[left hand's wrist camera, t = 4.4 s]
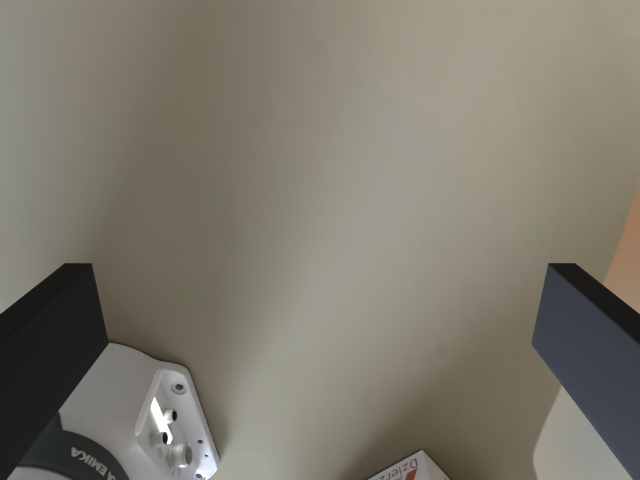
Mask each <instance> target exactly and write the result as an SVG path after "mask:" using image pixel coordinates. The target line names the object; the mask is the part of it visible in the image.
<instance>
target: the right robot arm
mask: <svg viewBox="0 0 640 480" xmlns="http://www.w3.org/2000/svg"><path fill="white" fill-rule="evenodd" d="M178 384H181V385H183V386H180V385H178ZM219 464H220V460H219V457H218V454H217V451H216V448H215V445H214V442H213V439H212V436H211V433H210V430H209V427H208V425H207V422H206V419H205V416H204V413H203V410H202V407H201V404H200V401H199V399H198V396H197V393H196V390H195V387H194V384H193V381H192V378H191V375H190V373H189V371H188V370H187V368H185V367H184V366H181V365H179V364H175V363H170V362H164V361H159V360H156V359H154V358H152V357H150V356H148V355H146V354H144V353H142V352H140V351H138V350H136V349H133V348H131V347H128V346H124V345H120V344H115V343H109V344H108V346H107V347H106V348H105V350H104V351H103V352H102V354H101V355H100V356H99V358H98V359H97V360H96V362H95V363H94V364H93V366H92V367H91V368H90V370H89V371H88V372H87V374H86V375H85V376H84V378H83V379H82V380H81V382H80V383H79V384H78V386H77V387H76V388H75V390H74V391H73V392H72V394H71V395H70V396H69V398H68V399H67V400H66V402H65V403H64V404H63V406H62V407H61V408H60V410H59V411H58V412H57V414H56V415H55V416H54V418H53V419H52V420H51V422H50V423H49V424H48V426H47V427H46V428H45V430H44V431H43V432H42V434H41V435H40V436H39V438H38V439H37V440H36V442H35V443H34V444H33V446H32V447H31V448H30V450H29V451H28V452H27V454H26V455H25V456H24V458H23V459H22V460H21V462H20V463H19V464H18V466H17V467H16V468H15V470H14V471H13V472H12V474H11V475H10V476H9V478H8V479H7V480H207V479H208V478H210V477H211V476H212V475H213V474H214V473H215V472H216V470H217V469H218V466H219Z"/></svg>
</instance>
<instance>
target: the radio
mask: <svg viewBox="0 0 640 480" xmlns="http://www.w3.org/2000/svg"><path fill="white" fill-rule="evenodd" d="M368 480H450V479H449V478H448V477H447V476H446V475H445V474H444V473H443V471H442V470H441V469H440V468H439V467H438V466H437V465H436V464H435V463H434V462H433V461H432V460H431V459H430V458H429V456H428V455H427V454H426V453H425V452H424V451H423V450H421V451H419V452H417V453H415V454H413V455H412V456H410V457H408V458H406V459H404V460H402V461H401V462H399V463H397V464H395V465H393V466H392V467H390V468H388V469H386V470H384V471H382V472H381V473H379V474H377V475H375V476H373V477H372V478H370V479H368Z"/></svg>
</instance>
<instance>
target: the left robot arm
mask: <svg viewBox="0 0 640 480" xmlns="http://www.w3.org/2000/svg"><path fill="white" fill-rule="evenodd" d="M108 344H109V343H108V338H107V333H106V329H105V324H104V319H103V315H102V310H101V305H100V301H99V296H98V291H97V287H96V282H95V277H94V273H93V268H92V263H65V264H63V265H62V266H61V267H60V268H58V269H57V270H56V271H54V272H53V273H52V274H51V275H49V276H48V277H47V278H46V279H44V280H43V281H42V282H41V283H39V284H38V285H37V286H35V287H34V288H33V289H32V290H30V291H29V292H28V293H27V294H25V295H24V296H23V297H22V298H20V299H19V300H18V301H16V302H15V303H14V304H13V305H11V306H10V307H9V308H8V309H6V310H5V311H4V312H3V313H1V314H0V480H7V479H8V478H9V476H10V475H11V474H12V472H13V471H14V470H15V468H16V467H17V466H18V464H19V463H20V462H21V460H22V459H23V458H24V456H25V455H26V454H27V452H28V451H29V450H30V448H31V447H32V446H33V444H34V443H35V442H36V440H37V439H38V438H39V436H40V435H41V434H42V432H43V431H44V430H45V428H46V427H47V426H48V424H49V423H50V422H51V420H52V419H53V418H54V416H55V415H56V414H57V412H58V411H59V410H60V408H61V407H62V406H63V404H64V403H65V402H66V400H67V399H68V398H69V396H70V395H71V394H72V392H73V391H74V390H75V388H76V387H77V386H78V384H79V383H80V382H81V380H82V379H83V378H84V376H85V375H86V374H87V372H88V371H89V370H90V368H91V367H92V366H93V364H94V363H95V362H96V360H97V359H98V358H99V356H100V355H101V354H102V352H103V351H104V350H105V348H106V347H107V346H108ZM531 344H532V346H533V347H534V348H535V350H536V351H537V352H538V354H539V355H540V356H541V358H542V359H543V360H544V362H545V363H546V364H547V366H548V367H549V368H550V370H551V371H552V372H553V374H554V375H555V376H556V378H557V379H558V380H559V382H560V383H561V384H562V386H563V387H564V388H565V390H566V391H567V392H568V394H569V395H570V396H571V398H572V399H573V400H574V401H575V403H576V404H577V406H578V407H579V408H580V410H581V411H582V412H583V414H584V415H585V416H586V418H587V419H588V420H589V422H590V423H591V424H592V426H593V427H594V428H595V430H596V431H597V432H598V434H599V435H600V436H601V438H602V439H603V440H604V442H605V443H606V444H607V446H608V447H609V448H610V450H611V451H612V452H613V454H614V455H615V456H616V458H617V459H618V460H619V462H620V463H621V464H622V466H623V467H624V468H625V470H626V471H627V472H628V474H629V475H630V476H631V478H632V479H633V480H640V314H639V313H637V312H636V311H635V310H634V309H632V308H631V307H630V306H629V305H627V304H626V303H625V302H623V301H622V300H621V299H620V298H618V297H617V296H616V295H615V294H613V293H612V292H611V291H610V290H608V289H607V288H606V287H604V286H603V285H602V284H601V283H599V282H598V281H597V280H596V279H594V278H593V277H592V276H591V275H589V274H588V273H587V272H585V271H584V270H583V269H582V268H580V267H579V266H578V265H577V264H575V263H548V268H547V273H546V277H545V282H544V287H543V291H542V296H541V301H540V305H539V310H538V315H537V319H536V324H535V329H534V333H533V338H532V343H531Z"/></svg>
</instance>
